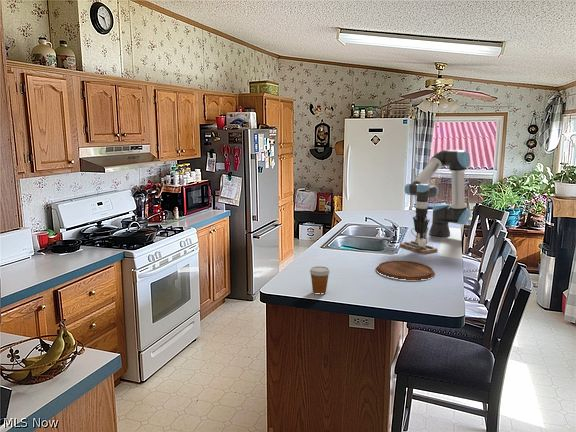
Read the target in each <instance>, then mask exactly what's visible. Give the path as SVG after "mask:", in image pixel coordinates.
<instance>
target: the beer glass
mask: <svg viewBox="0 0 576 432" xmlns="http://www.w3.org/2000/svg"><path fill="white" fill-rule="evenodd" d="M330 272H331V271H330V268H329V267H327V266H321V265H318V266H316V265H315V266H313V267H312V266H311V268H310V270H309V273H310V277H311V279H310V280H311V286H312V287H311V288H312V293H313V292H314V293H320V294H321V293H325V292H326V293H327V289H328V281H329V280H328V279H329V274H330ZM314 293H313V294H314Z"/></svg>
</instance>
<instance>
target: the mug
mask: <svg viewBox="0 0 576 432" xmlns="http://www.w3.org/2000/svg"><path fill="white" fill-rule="evenodd" d="M413 230H415V227H414V228H412V229H411V233H412V235H413V236H414V237H415V239H414V242H417V240H418V238H417V234H414V232H413ZM429 230H430V228H429V227H428V226H427V230H426V233H423V238H422V239H426V243H428V238H427V235H428V232H429Z"/></svg>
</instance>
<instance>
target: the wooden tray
mask: <svg viewBox="0 0 576 432" xmlns="http://www.w3.org/2000/svg"><path fill="white" fill-rule="evenodd" d="M400 246H401V247H400ZM399 247H400V248H403V247H404V248H403V249H407V250H410V251H413V252H416V253H419V254H422V255H427V254H431V253H437V252H438V248H436V247H434V246H431V245H428V244H426V247H421V246H418V243H417V242H416V241H415V240H410V241H404V242H402V243H399Z"/></svg>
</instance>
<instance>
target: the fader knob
mask: <svg viewBox="0 0 576 432" xmlns="http://www.w3.org/2000/svg"><path fill="white" fill-rule="evenodd" d="M426 245H427V242H426V239H419V240H418V246H421V247H426Z"/></svg>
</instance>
